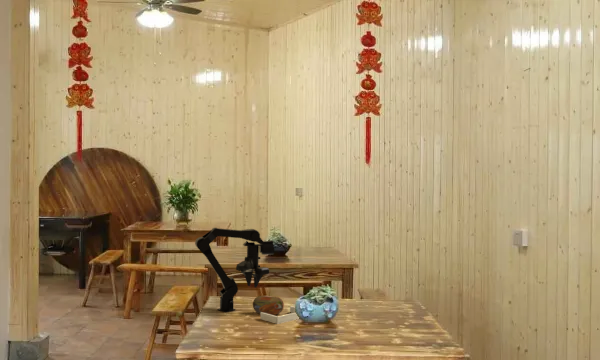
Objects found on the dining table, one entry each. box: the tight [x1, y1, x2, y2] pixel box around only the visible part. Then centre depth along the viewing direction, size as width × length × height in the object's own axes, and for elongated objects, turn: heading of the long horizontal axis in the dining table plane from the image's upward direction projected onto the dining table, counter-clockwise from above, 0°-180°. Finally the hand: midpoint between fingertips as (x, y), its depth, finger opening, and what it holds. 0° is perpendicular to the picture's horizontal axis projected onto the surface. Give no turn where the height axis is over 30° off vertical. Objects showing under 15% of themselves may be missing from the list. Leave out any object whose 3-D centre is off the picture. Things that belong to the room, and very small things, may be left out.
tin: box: [252, 295, 285, 316], centre depth 277 cm, size 15×3×8 cm, turn 73°
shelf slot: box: [259, 305, 300, 325], centre depth 269 cm, size 12×20×3 cm, turn 136°
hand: (252, 286), depth 285 cm, fingers open, 5 cm apart
